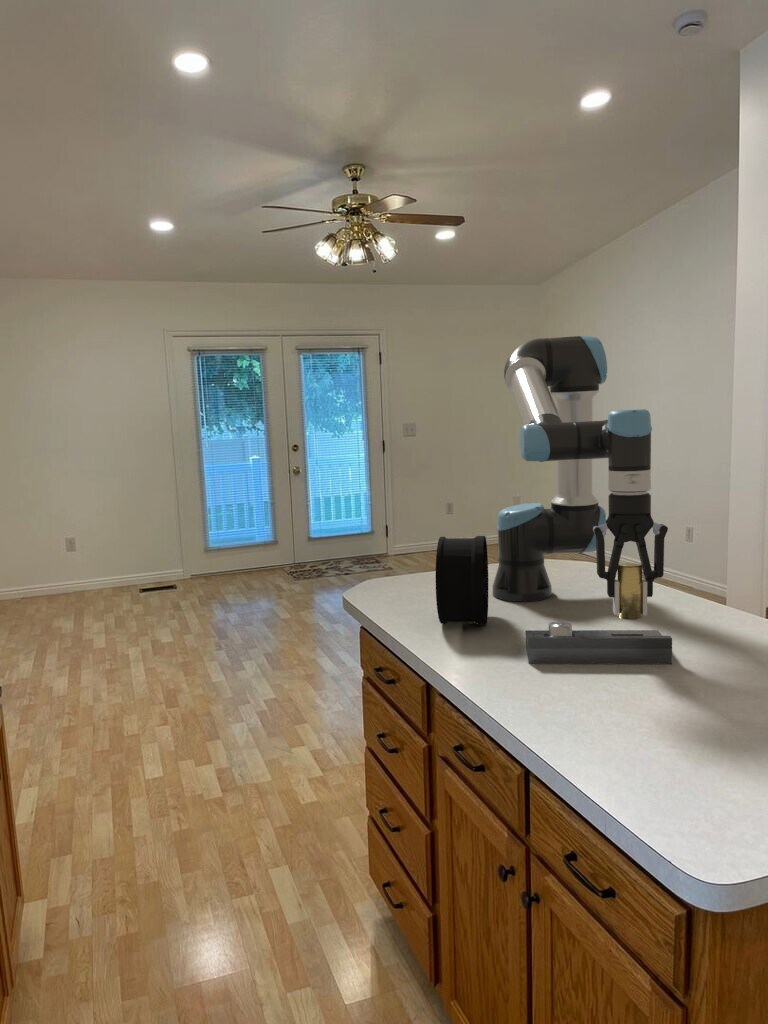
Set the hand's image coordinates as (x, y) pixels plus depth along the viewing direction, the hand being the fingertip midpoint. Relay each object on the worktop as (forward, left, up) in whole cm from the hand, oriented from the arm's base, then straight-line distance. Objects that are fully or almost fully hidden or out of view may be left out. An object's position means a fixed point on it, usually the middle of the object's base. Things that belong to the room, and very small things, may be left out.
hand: (629, 613), depth 135 cm
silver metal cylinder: (0, -13, -8) cm, 15 cm away
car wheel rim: (-21, -33, -8) cm, 40 cm away
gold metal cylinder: (0, 0, -1) cm, 1 cm away
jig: (0, -7, -8) cm, 11 cm away
